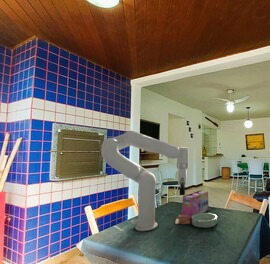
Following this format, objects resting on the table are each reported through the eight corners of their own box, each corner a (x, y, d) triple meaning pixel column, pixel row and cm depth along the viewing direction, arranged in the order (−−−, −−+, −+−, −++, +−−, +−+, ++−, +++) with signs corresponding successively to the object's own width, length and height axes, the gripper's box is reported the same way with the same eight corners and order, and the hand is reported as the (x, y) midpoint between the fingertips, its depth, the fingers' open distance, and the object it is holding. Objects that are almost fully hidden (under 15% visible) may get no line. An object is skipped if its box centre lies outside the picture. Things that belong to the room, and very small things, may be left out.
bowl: (192, 228, 113) (192, 221, 113) (191, 219, 128) (191, 213, 128) (218, 227, 114) (218, 220, 114) (214, 218, 129) (214, 212, 129)
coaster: (175, 224, 120) (175, 223, 120) (176, 219, 129) (175, 218, 129) (190, 223, 121) (190, 223, 121) (189, 218, 130) (189, 218, 130)
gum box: (200, 208, 153) (200, 190, 155) (209, 209, 149) (209, 191, 150) (181, 217, 133) (181, 196, 134) (191, 219, 129) (191, 197, 130)
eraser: (178, 221, 123) (178, 216, 123) (178, 220, 126) (178, 215, 126) (188, 221, 124) (188, 216, 124) (188, 219, 127) (188, 214, 127)
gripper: (177, 165, 136) (177, 190, 134) (176, 167, 119) (175, 196, 117) (188, 165, 137) (188, 190, 135) (188, 167, 119) (188, 196, 118)
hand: (182, 193), depth 126 cm, fingers open, 9 cm apart
